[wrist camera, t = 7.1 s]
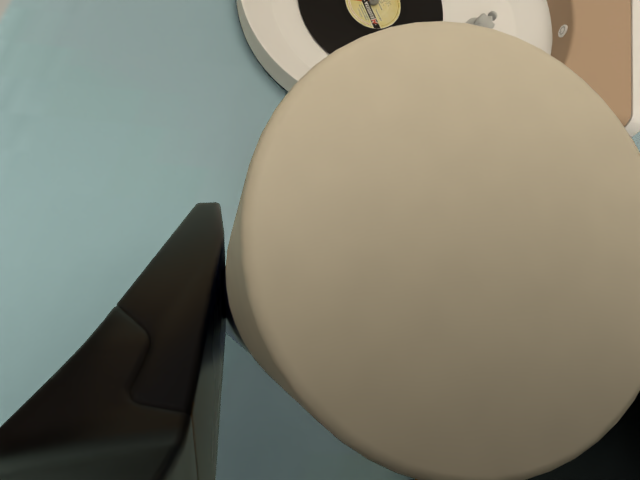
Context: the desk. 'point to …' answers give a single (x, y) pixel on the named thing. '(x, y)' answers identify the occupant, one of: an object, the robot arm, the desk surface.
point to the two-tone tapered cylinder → (444, 254)
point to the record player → (462, 7)
